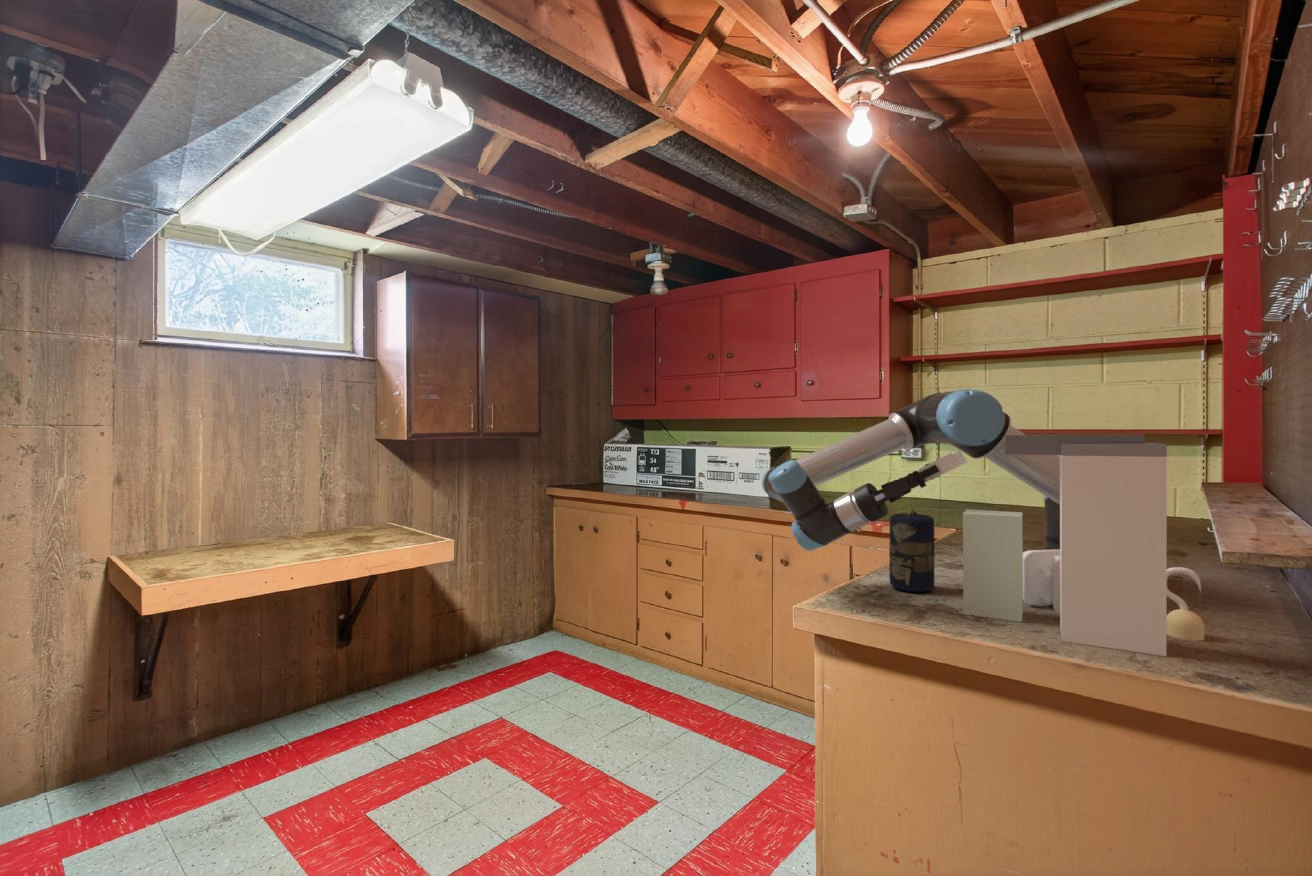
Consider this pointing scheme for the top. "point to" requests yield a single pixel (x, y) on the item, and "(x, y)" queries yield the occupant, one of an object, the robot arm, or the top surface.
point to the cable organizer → (1042, 578)
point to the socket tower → (1114, 546)
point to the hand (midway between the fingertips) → (959, 457)
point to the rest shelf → (993, 564)
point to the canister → (912, 552)
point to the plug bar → (1061, 442)
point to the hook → (1183, 613)
